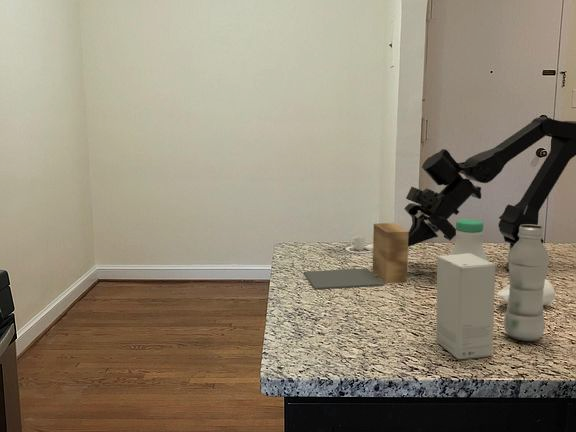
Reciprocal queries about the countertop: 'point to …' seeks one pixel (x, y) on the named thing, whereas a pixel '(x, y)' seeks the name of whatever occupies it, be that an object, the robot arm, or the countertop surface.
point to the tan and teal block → (390, 252)
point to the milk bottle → (469, 238)
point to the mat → (342, 278)
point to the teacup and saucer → (360, 245)
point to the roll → (547, 293)
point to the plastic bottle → (526, 285)
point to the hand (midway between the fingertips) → (404, 245)
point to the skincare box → (465, 305)
